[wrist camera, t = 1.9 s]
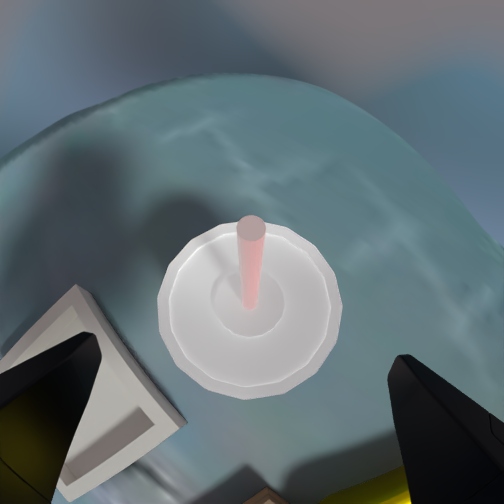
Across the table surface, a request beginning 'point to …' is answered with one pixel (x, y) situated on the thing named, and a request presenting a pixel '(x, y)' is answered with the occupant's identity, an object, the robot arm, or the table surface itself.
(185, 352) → the beverage cup
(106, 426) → the tray
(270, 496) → the walnut slotted board
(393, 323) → the table surface
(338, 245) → the table surface
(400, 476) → the element tile
